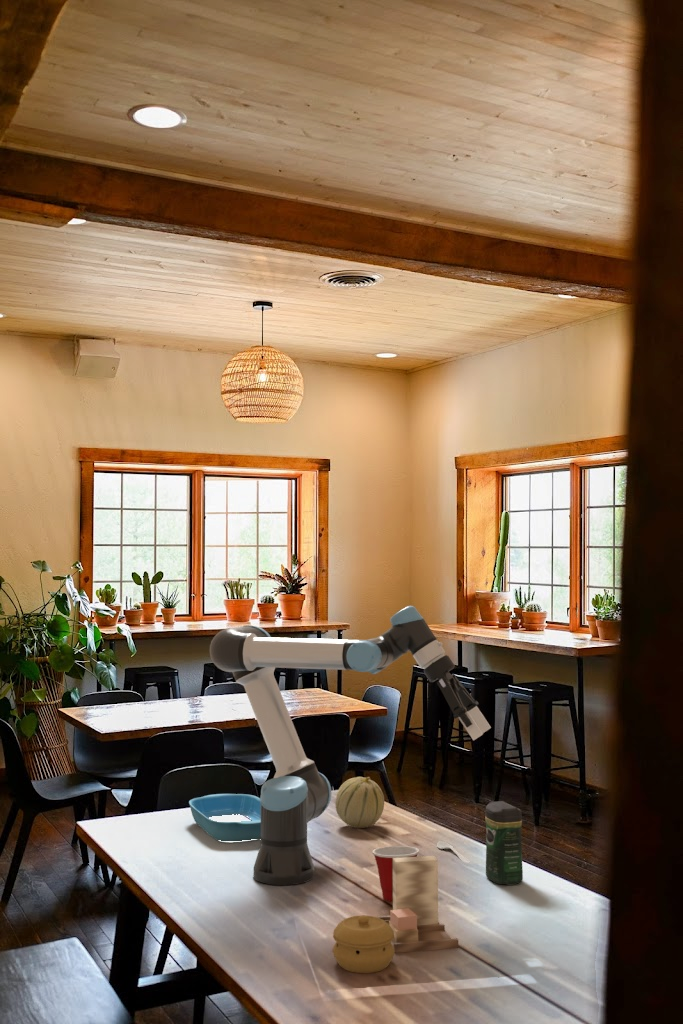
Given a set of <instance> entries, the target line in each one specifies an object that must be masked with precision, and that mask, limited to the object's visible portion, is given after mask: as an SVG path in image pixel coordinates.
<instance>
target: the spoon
mask: <svg viewBox="0 0 683 1024" xmlns="http://www.w3.org/2000/svg"><path fill="white" fill-rule="evenodd" d="M436 846H437V848H438V849H440V850H443V849H444V850H445V851H446V850H451V851H452V852H453V853H455V854H456V856H457V858H459V859H460V861H462V862H463V863H467V864H468V863H469V864H470V863H471V861H470V860H469V859H468V858H467V857H465V856H464V855H462V854H461V853H460V852H458V851H457V850H456V849H455V848H454V846H453V845H451V844H449V843H448V842H446V841H443V840H439V841H438V842H436ZM442 847H443V848H442Z"/></svg>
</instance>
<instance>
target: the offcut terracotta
mask: <svg viewBox="0 0 683 1024" xmlns="http://www.w3.org/2000/svg"><path fill="white" fill-rule="evenodd" d="M389 911H390V912H389V916H390V923H391V924H392V925H393V926H394V927H395V928H396V929H397V930H398V931H399V930H407V929H415V928H417V915H416V914H415V913H413V912H412V911H411V910H410V909H409V908H406V909H398V910H393V909H390V910H389Z"/></svg>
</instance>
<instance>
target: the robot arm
mask: <svg viewBox="0 0 683 1024" xmlns="http://www.w3.org/2000/svg"><path fill="white" fill-rule="evenodd" d="M389 620H390V621H389V622H390V623H391V627H390V628H389V629H388V630H386V631H385V632H383V633H381V634H380V635H379V636H377V637H374V638H369V639H343V638H342V639H338V638H334V639H333V638H304V637H303V638H297V637H295V638H293V637H292V638H291V637H272V636H271V635H270V633H268V631H266V630H265V629H264V628H262V627H260V626H254V625H243V626H238V627H227V628H225V629H224V628H223V629H221V630H220V631H219V632H217V633H216V635H214V637H213V638H212V640H211V641H210V644H209V656H210V659H211V661H212V663H213V664H214V665H215V666H216V667H217V669H219V670H221V671H224V672H226V673H232V675H233V678H234V680H235V683H237V684H239V685H241V686H243V688H244V691H245V693H246V695H247V698H248V701H249V703H250V706H251V708H252V711H253V713H254V715H255V718H256V721H257V724H258V726H259V729H260V732H261V734H262V737H263V740H264V742H265V744H266V746H267V749H268V752H269V755H270V757H271V759H272V760H271V761H272V763H273V765H274V767H275V771H276V772H275V773H274V776H273V778H270V779H268V780H267V781H265V782H264V783H263V784H262V786H261V789H260V795H259V796H260V797H259V798H260V803H261V840H260V846H259V850H258V853H257V855H256V858H255V861H254V866H253V876H254V877H253V879H254V880H255V881H257V882H259V883H262V884H267V885H273V886H275V885H276V886H286V885H287V886H290V885H297V884H303V883H306V882H308V881H311V880H312V879H313V878H314V877H315V866H314V863H313V858H312V855H311V853H310V850H309V849H310V848H309V846H308V823H309V822H310V821H312V820H313V819H314V820H315V819H316V818H319V817H320V816H321V815H322V814H323V813H324V812H325V810H326V809H327V808H328V807H329V806H330V802H331V799H332V786H331V783H330V781H329V780H328V778H327V777H326V776H325V775H324V774H323V773H321V772H320V771H318V768H317V766H316V764H315V761H314V760H312V759H310V758H308V757H307V755H306V753H305V751H304V748H303V746H302V743H301V741H300V737H299V736H298V733H297V730H296V727H295V725H294V722H293V721H292V718H291V716H290V713H289V710H288V707H287V705H286V703H285V700H284V698H283V695H282V693H281V691H280V690H281V689H280V688H279V687H280V686H279V685H278V682H277V680H276V678H275V675H274V672H275V670H276V669H277V668H281V669H285V668H286V669H311V670H342V671H343V670H346V671H356V672H357V673H371V674H372V675H376V674H378V673H380V672H381V671H383V670H385V669H387V667H388V666H390V665H391V664H393V663H394V662H395V661H397V660H398V659H400V657H403V655H405V654H407V653H408V652H410V653H411V655H412V657H413V659H414V660H415V661H416V663H417V665H418V666H419V668H420V669H423V673H424V675H425V676H426V678H427V680H429V682H430V683H434V682H436V681H437V680H438V681H437V682H436V685H437V686H438V688H439V689H440V691H441V693H442V694H443V697H444V699H445V700H446V702H447V704H448V706H449V709H450V710H451V712H452V716H453V718H454V719H458V720H459V721H460V723H461V724H462V725H463V727H464V729H465V731H466V732H467V733H468V735H469V736H470V737H471V739H472V741H475V740H477V739H478V738H480V737H481V736H483V735H484V733H485V732H488V731H489V730H490V729H491V728H492V727H491V725H490V724H489V722H488V721H487V719H486V717H485V716H484V714H483V713H482V712H481V710H480V708H479V707H478V706H479V704H480V703H479V702H478V701H477V700H476V699H474V697H473V696H472V695H471V694H470V693H469V691H468V690H467V688H466V687H465V686H464V685H463V684H462V683H461V681H460V679H458V677H457V675H456V674H455V673H452V674H451V673H450V671H452V670H453V669H455V664H454V662H453V661H452V659H451V657H450V656H449V655H448V654H446V650H445V648H444V647H443V645H444V643H443V642H442V641H438V638H437V637H436V636H435V634H434V633H433V631H432V629H431V628H430V626H429V625H428V623H427V621H426V620H425V617H423V616H422V615H421V614H420V612H419V611H418V609H417V608H416V607H415V606H413V605H407V606H405V607H404V608H402V609H401V610H399V611H397V612H396V613H394V615H392V616H391V617H390V619H389Z"/></svg>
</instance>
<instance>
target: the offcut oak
mask: <svg viewBox="0 0 683 1024" xmlns="http://www.w3.org/2000/svg"><path fill="white" fill-rule="evenodd" d="M389 925H390V927H391V928H392V930H393V931H394V939H393V940H392V941H393V943H399V942H413V941H418V929H417V928H415V929H407V930H399V931H398V930H397V929H396V928H395V927H394V926H393V925H392V924H391V923H390V921H389Z"/></svg>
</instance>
